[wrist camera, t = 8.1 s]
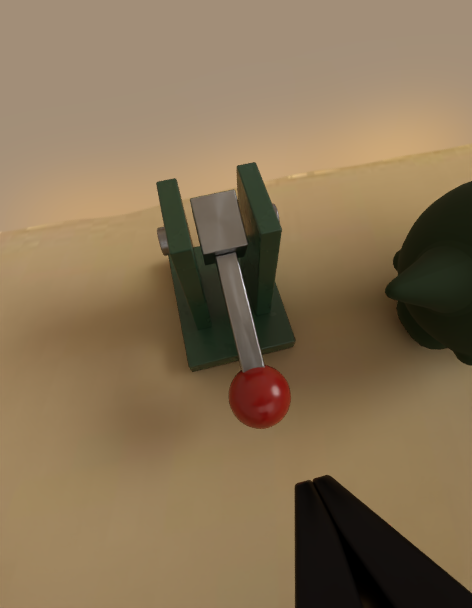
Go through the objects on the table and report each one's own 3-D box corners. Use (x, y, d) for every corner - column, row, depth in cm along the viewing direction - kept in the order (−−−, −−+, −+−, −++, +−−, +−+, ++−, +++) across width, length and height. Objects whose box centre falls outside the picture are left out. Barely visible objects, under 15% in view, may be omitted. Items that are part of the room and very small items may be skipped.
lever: (290, 411, 17) (304, 427, 14) (235, 426, 17) (238, 444, 14) (239, 208, 18) (243, 184, 15) (186, 220, 18) (180, 197, 15)
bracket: (293, 347, 22) (323, 267, 13) (191, 372, 22) (152, 306, 13) (257, 242, 26) (262, 128, 17) (171, 261, 26) (130, 153, 17)
